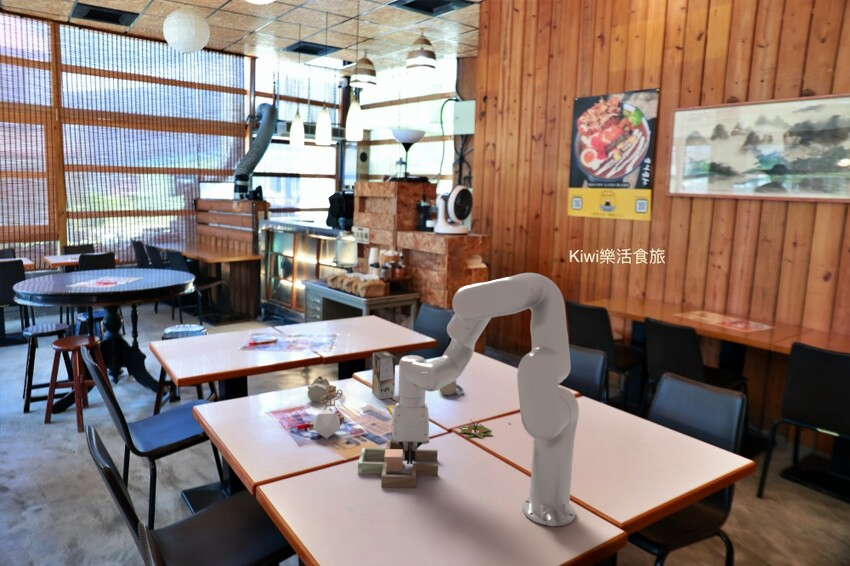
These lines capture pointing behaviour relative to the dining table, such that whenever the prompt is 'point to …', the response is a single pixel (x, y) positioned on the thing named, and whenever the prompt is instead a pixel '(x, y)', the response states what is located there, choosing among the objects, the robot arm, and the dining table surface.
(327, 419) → the die
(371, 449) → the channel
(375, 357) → the coffee box
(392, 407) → the candy bar
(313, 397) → the ceramic sculpture
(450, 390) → the ceramic mug
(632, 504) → the dining table surface
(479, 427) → the lily flower
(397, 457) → the block
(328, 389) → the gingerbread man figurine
